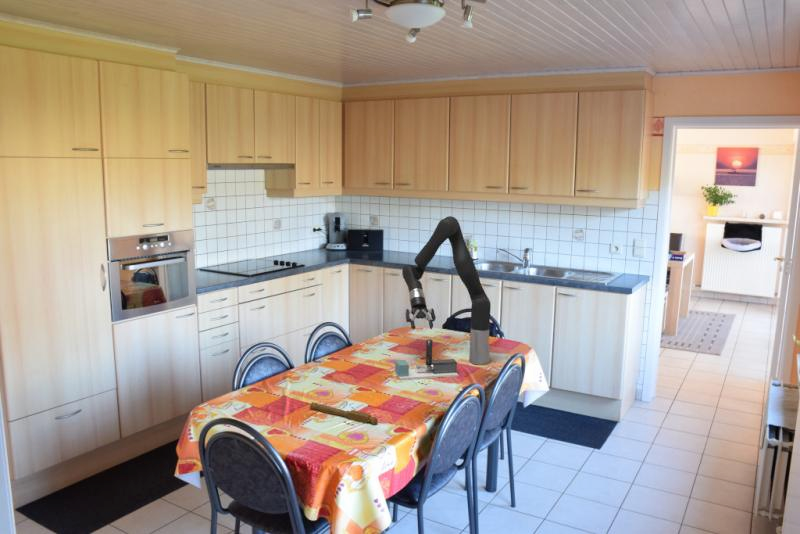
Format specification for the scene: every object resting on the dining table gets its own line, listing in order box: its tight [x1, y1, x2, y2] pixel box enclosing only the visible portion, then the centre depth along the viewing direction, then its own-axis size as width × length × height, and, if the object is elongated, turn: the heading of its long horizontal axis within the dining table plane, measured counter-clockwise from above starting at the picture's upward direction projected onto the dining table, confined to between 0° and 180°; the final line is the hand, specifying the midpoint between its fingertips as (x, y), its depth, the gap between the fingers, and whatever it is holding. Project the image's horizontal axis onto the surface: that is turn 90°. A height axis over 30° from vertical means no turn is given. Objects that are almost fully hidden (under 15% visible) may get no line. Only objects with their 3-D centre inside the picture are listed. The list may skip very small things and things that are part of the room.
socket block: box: [394, 359, 410, 377], centre depth 297 cm, size 4×8×5 cm, turn 13°
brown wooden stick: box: [309, 401, 379, 425], centre depth 249 cm, size 3×3×30 cm
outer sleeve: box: [431, 358, 458, 374], centre depth 302 cm, size 11×5×5 cm, turn 103°
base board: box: [393, 368, 460, 381], centre depth 300 cm, size 28×11×1 cm, turn 103°
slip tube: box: [415, 338, 434, 371], centre depth 300 cm, size 17×4×15 cm, turn 103°
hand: (422, 328), depth 309 cm, fingers open, 8 cm apart
